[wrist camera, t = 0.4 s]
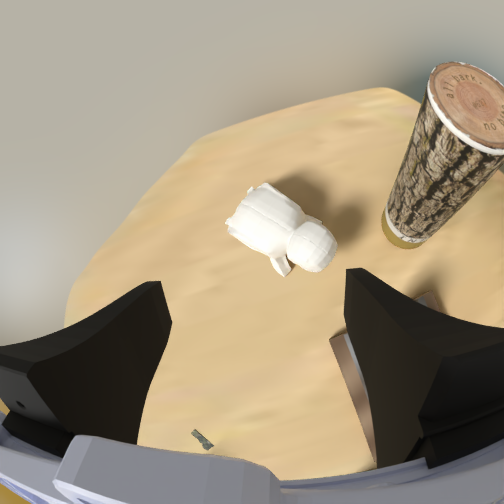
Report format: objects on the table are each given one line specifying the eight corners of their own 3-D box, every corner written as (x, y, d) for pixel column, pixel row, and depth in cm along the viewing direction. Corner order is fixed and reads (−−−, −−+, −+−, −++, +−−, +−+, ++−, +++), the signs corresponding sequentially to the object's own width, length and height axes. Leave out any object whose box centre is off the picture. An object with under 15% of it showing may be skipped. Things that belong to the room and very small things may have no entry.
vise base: (466, 410, 27) (481, 421, 23) (373, 457, 30) (377, 474, 25) (428, 291, 33) (441, 287, 28) (329, 339, 35) (328, 343, 30)
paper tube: (371, 213, 37) (405, 73, 13) (412, 192, 36) (474, 54, 12) (395, 259, 35) (481, 167, 11) (437, 236, 34) (540, 133, 10)
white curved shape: (243, 249, 44) (322, 303, 34) (205, 222, 37) (291, 280, 27) (277, 201, 44) (362, 242, 34) (245, 167, 37) (341, 205, 28)
